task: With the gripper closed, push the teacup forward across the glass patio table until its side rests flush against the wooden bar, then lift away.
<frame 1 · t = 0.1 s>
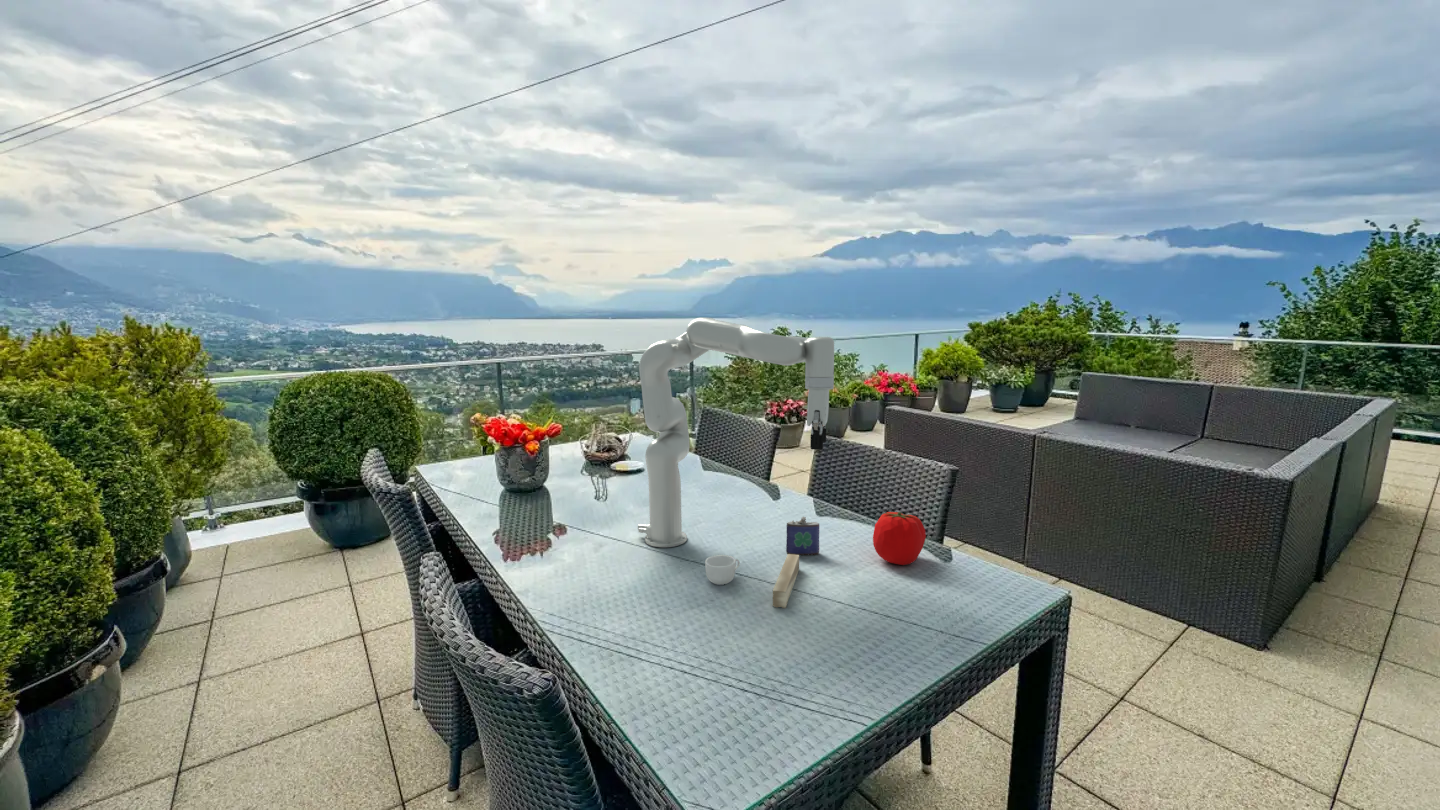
hand: (818, 445, 159), 31 cm above the table, tool pointing down, fingers open, 9 cm apart
blue shamrock pouch: (802, 554, 164), on the table
tomato: (898, 560, 159), on the table
teacup: (724, 580, 148), on the table
wooden bar: (786, 586, 144), on the table
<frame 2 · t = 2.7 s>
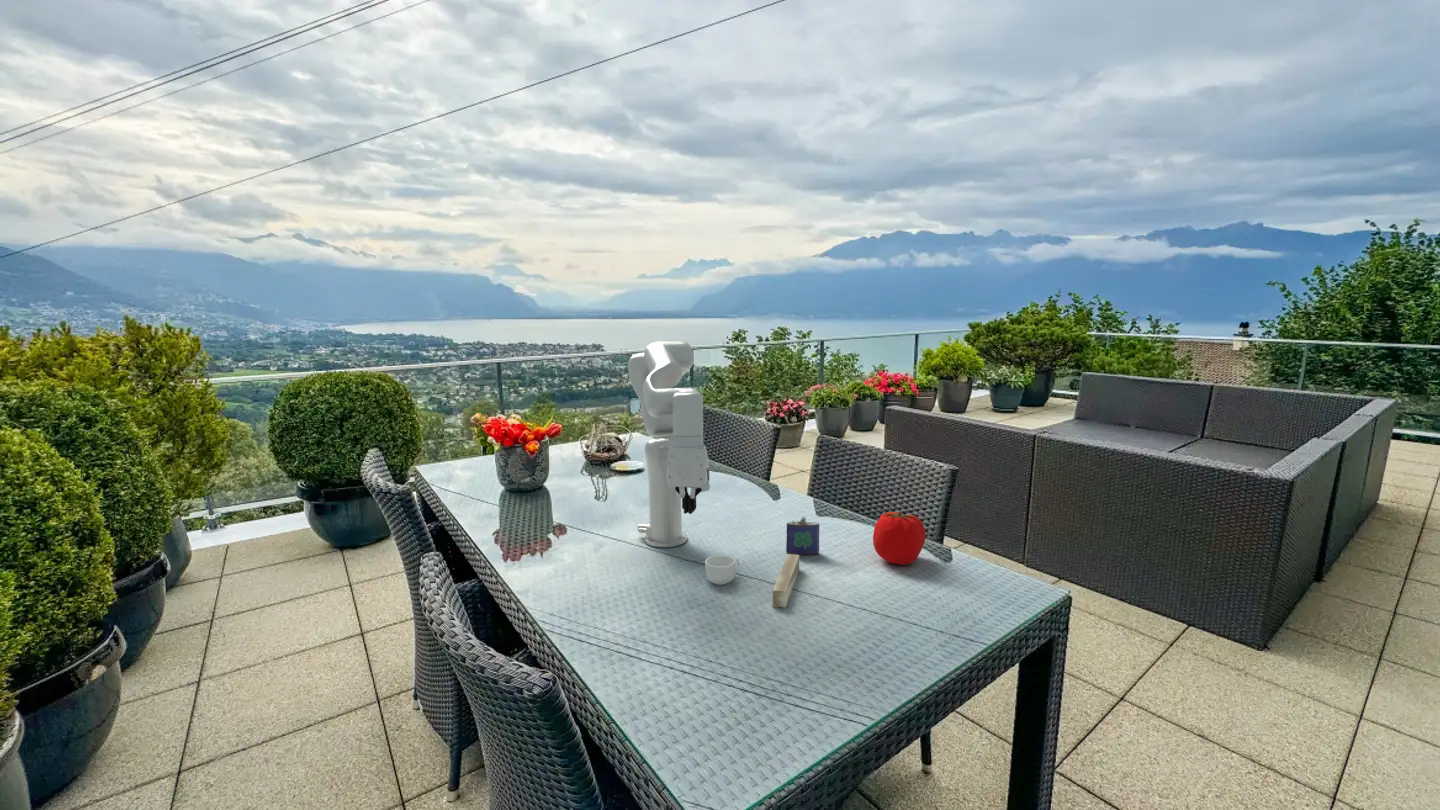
hand: (689, 511, 148), 17 cm above the table, tool pointing down, fingers closed
nothing on the table moved.
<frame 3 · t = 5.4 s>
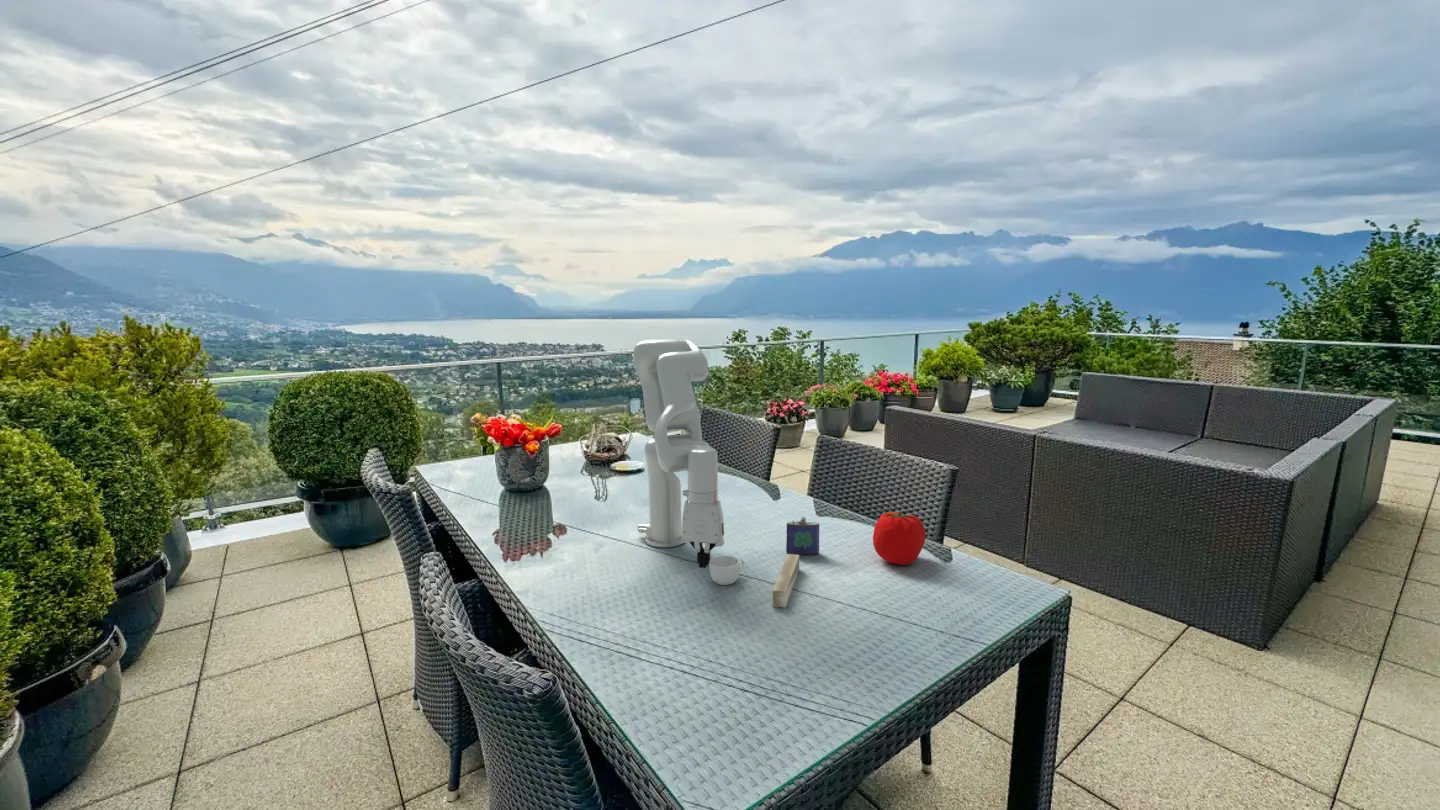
hand: (703, 565, 149), 3 cm above the table, tool pointing down, fingers closed
teacup: (728, 581, 148), on the table, touching gripper
everything else where it was.
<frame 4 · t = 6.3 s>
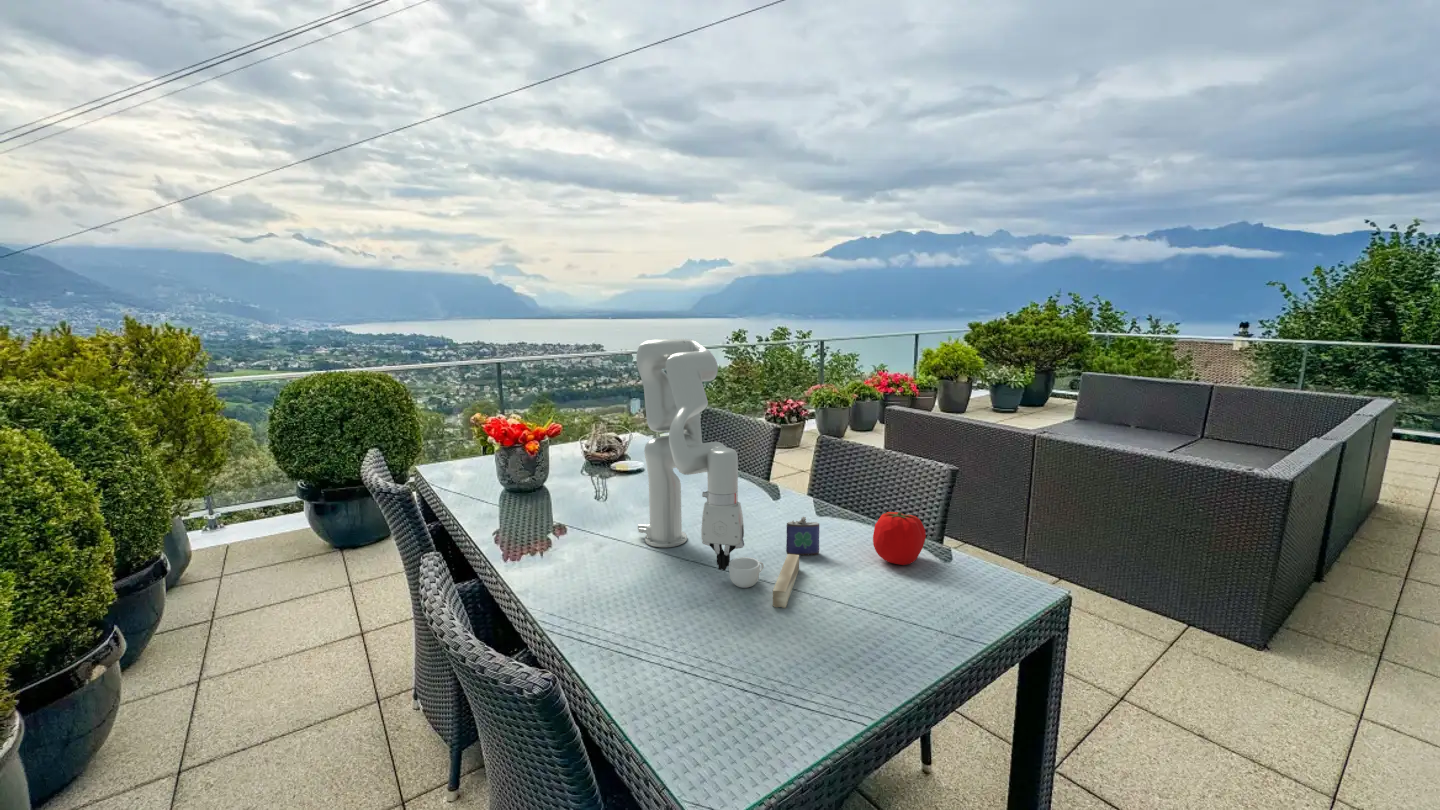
hand: (723, 567, 148), 3 cm above the table, tool pointing down, fingers closed
teacup: (747, 583, 146), on the table, touching gripper
everything else where it was.
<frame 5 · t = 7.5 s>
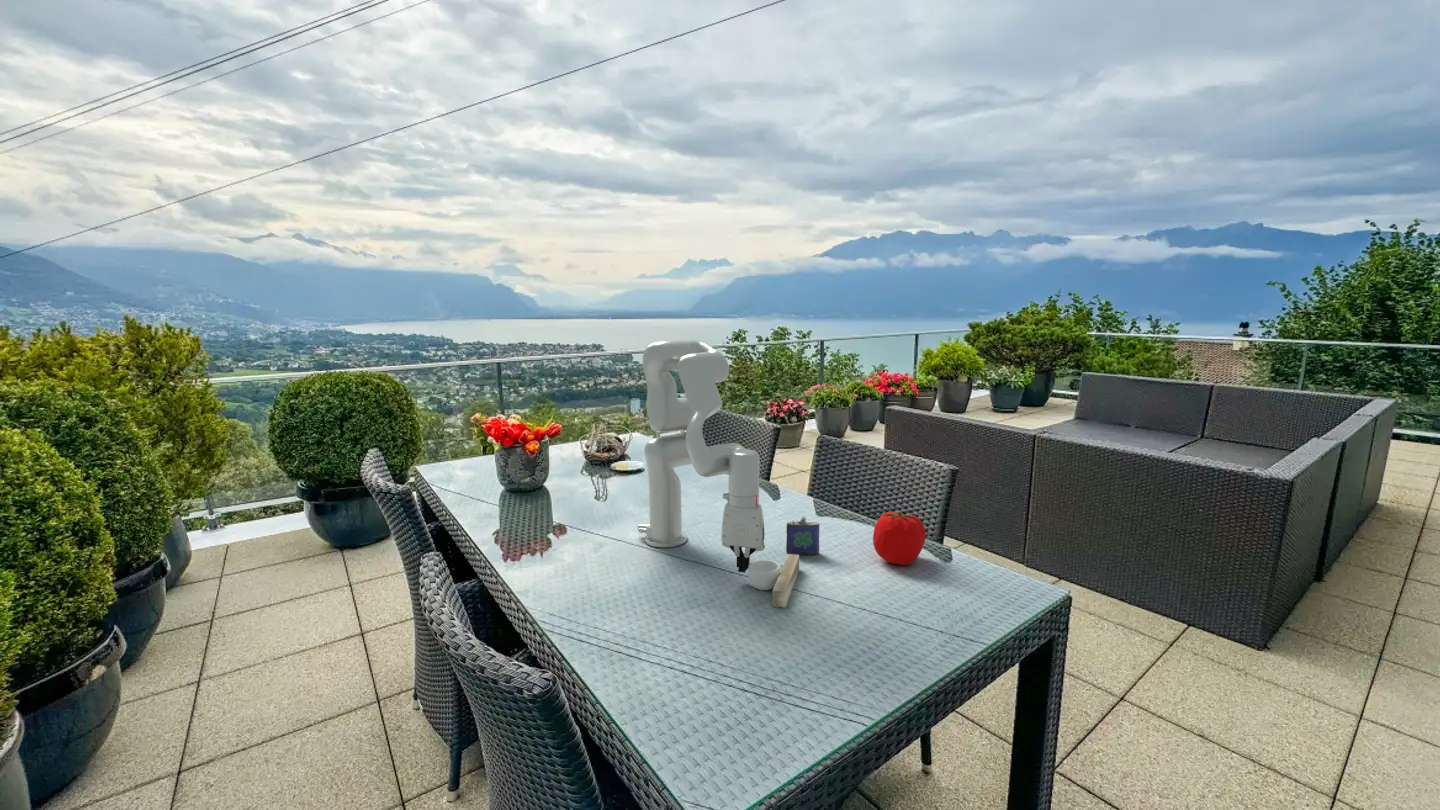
hand: (743, 570, 146), 3 cm above the table, tool pointing down, fingers closed
teacup: (767, 586, 145), on the table, touching wooden bar, gripper
everything else where it was.
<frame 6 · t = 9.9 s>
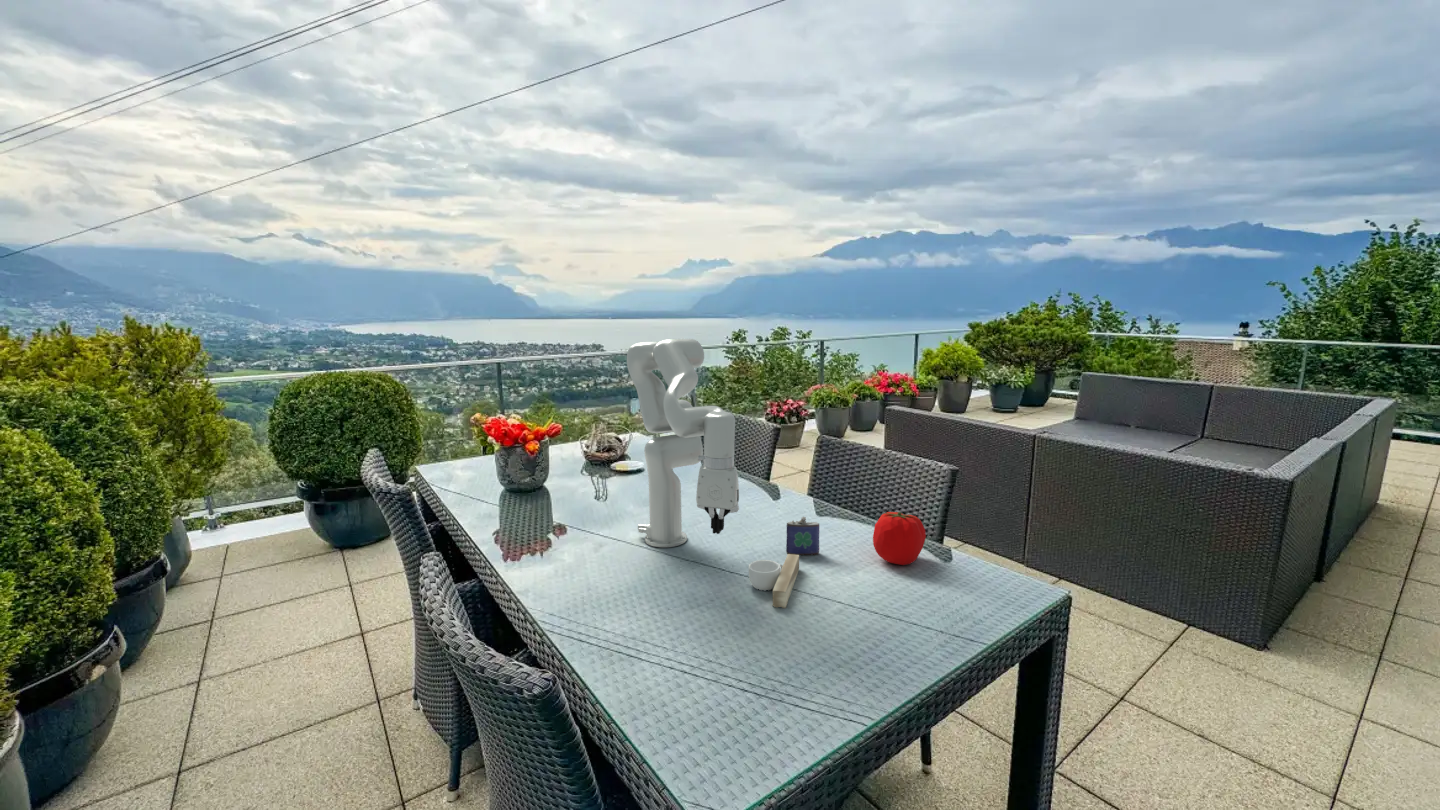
hand: (717, 531, 148), 12 cm above the table, tool pointing down, fingers closed
teacup: (767, 586, 145), on the table
everything else where it was.
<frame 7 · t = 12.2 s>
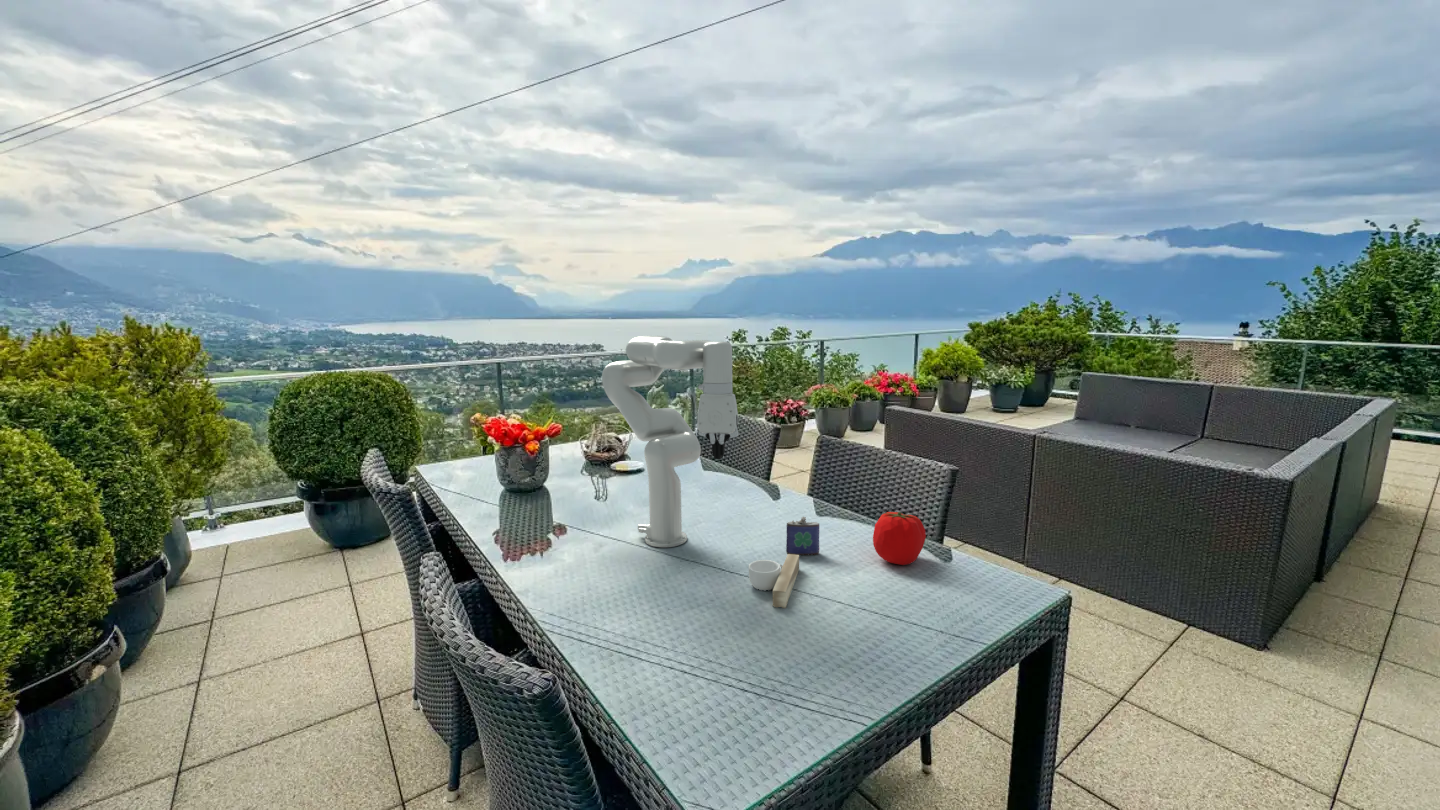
hand: (718, 457, 155), 29 cm above the table, tool pointing down, fingers closed
nothing on the table moved.
at the end: teacup inside the target area on the table beside the wooden bar (1.1 cm from its centre), on the table; teacup tilted 0° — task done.
